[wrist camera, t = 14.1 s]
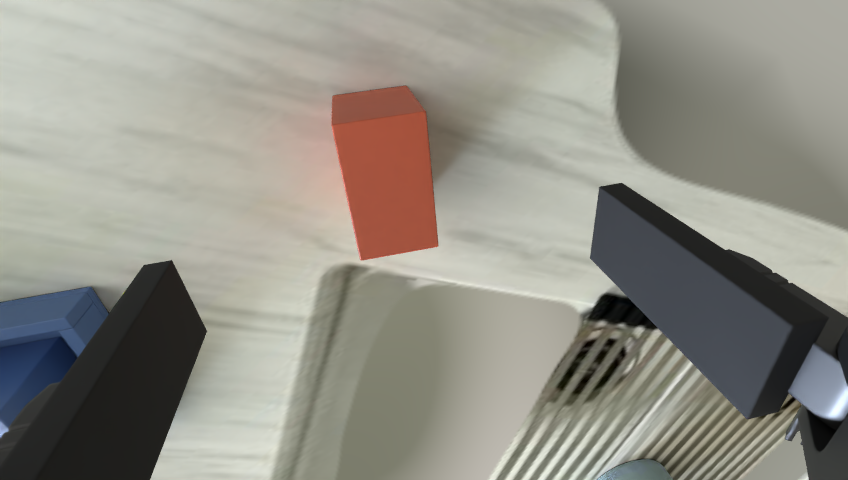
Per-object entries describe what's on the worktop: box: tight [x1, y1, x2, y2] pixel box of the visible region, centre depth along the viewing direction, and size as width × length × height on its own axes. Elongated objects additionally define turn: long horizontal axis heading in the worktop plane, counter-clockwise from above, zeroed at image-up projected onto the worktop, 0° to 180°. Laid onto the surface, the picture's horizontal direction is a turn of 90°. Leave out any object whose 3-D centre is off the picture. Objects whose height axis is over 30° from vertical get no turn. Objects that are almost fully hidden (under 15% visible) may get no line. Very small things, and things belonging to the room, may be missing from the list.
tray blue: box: [0, 287, 109, 358], centre depth 23 cm, size 10×8×2 cm
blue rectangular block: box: [0, 337, 77, 438], centre depth 22 cm, size 6×4×5 cm, turn 6°
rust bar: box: [332, 86, 438, 260], centre depth 19 cm, size 6×4×5 cm, turn 5°
